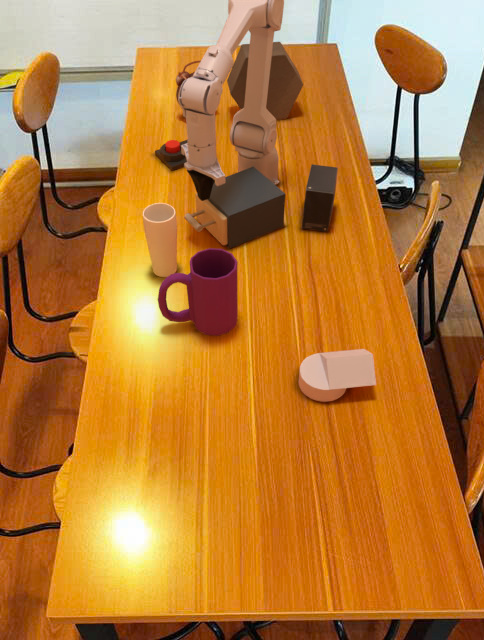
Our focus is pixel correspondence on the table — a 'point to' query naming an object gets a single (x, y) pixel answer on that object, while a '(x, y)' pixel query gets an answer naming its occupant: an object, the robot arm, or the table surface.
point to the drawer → (209, 220)
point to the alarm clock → (183, 78)
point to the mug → (206, 292)
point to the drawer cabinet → (249, 205)
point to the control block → (172, 157)
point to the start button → (172, 146)
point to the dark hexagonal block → (281, 81)
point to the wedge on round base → (335, 373)
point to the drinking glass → (161, 237)
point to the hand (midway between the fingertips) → (204, 198)
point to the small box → (319, 197)
